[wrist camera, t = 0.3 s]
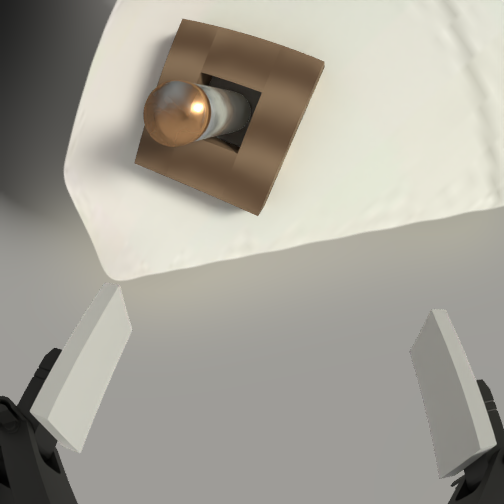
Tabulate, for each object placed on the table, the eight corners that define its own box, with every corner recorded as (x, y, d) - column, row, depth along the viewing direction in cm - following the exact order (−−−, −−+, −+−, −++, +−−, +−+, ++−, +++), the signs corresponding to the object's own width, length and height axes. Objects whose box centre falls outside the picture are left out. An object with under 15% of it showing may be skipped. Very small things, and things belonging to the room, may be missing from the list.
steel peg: (217, 85, 34) (155, 73, 20) (257, 99, 34) (215, 91, 20) (203, 124, 36) (136, 135, 23) (241, 139, 36) (192, 156, 23)
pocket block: (196, 26, 31) (182, 18, 27) (324, 67, 31) (324, 61, 27) (150, 157, 39) (134, 163, 36) (264, 205, 39) (257, 216, 35)
